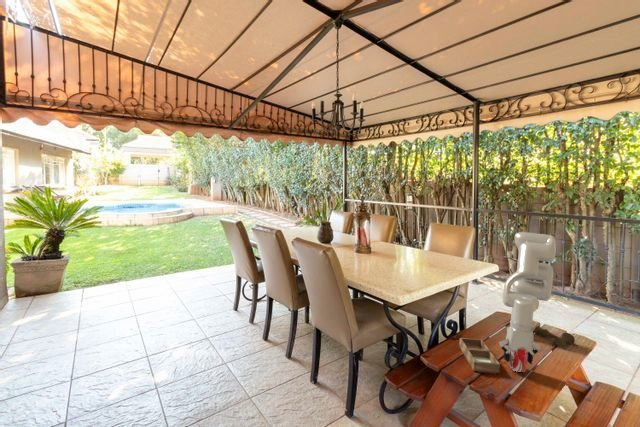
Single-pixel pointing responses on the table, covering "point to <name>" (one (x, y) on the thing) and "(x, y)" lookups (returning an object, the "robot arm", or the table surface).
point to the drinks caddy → (479, 355)
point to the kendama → (556, 337)
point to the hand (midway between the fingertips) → (517, 361)
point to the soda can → (518, 360)
